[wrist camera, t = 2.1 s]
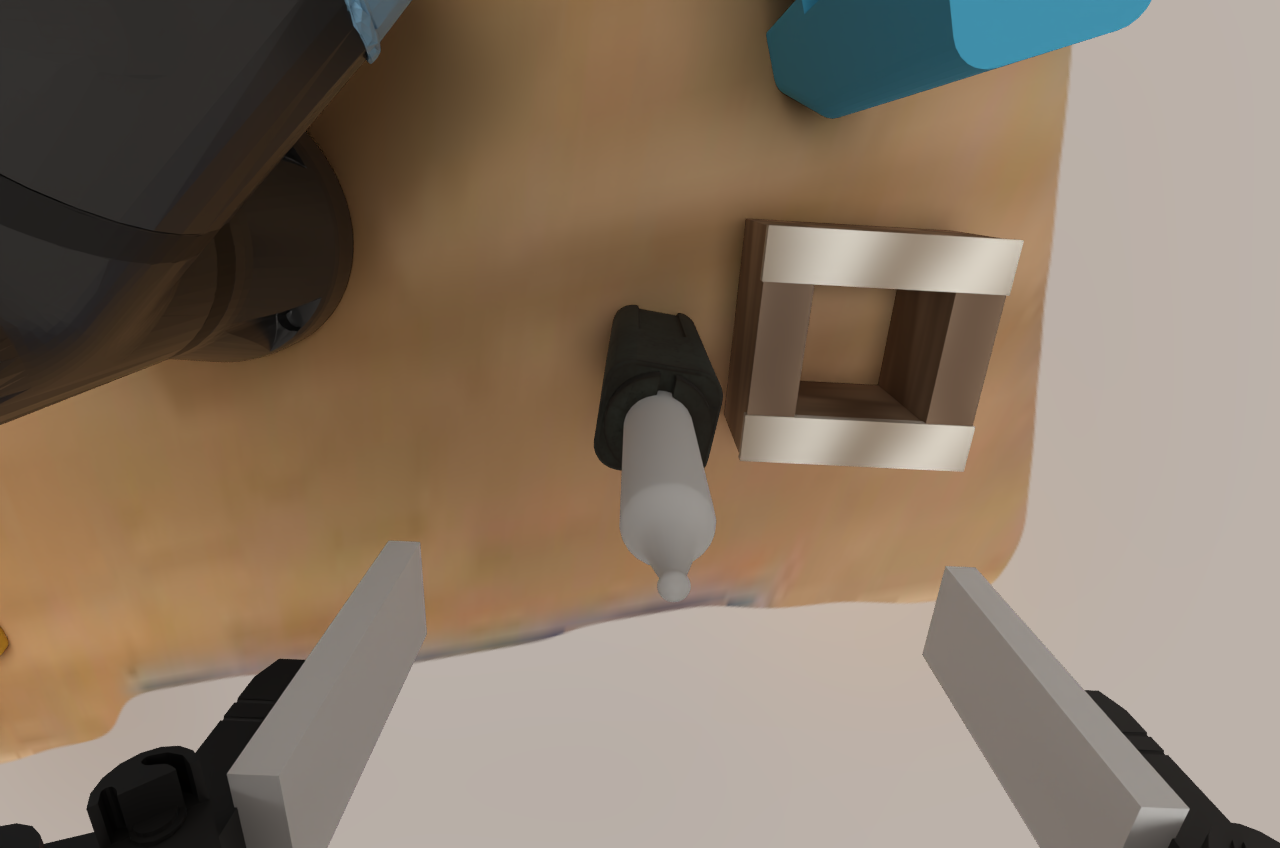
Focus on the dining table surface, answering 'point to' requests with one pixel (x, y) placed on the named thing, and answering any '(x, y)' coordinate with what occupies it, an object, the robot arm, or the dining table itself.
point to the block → (920, 43)
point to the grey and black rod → (660, 440)
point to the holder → (914, 355)
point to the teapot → (3, 641)
